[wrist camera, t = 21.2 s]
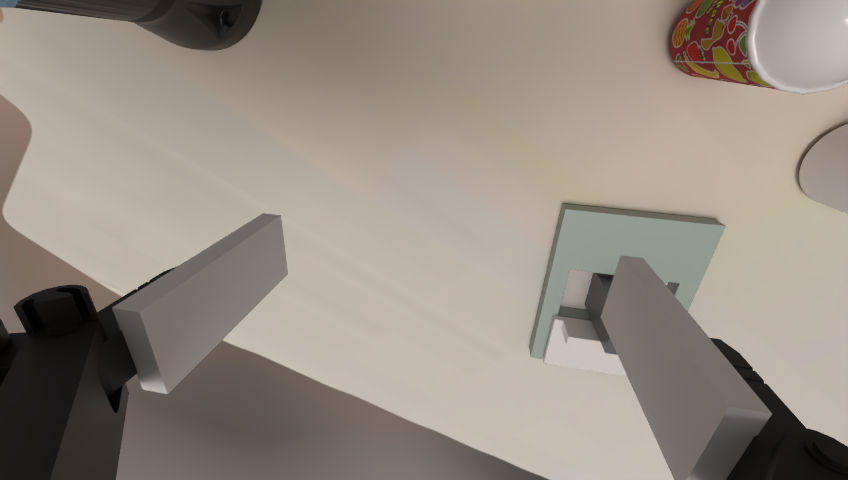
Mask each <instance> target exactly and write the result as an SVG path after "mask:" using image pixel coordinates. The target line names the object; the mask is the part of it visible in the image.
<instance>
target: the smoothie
mask: <svg viewBox="0 0 848 480" xmlns="http://www.w3.org/2000/svg"><path fill="white" fill-rule="evenodd" d="M671 53H672V57H673V60H674V63H675V64H676V65H677V66H678V68H679V69H680V70H681V71H683V72H684V73H686V74H688V75H690V76H694V77H701V78H707V79H714V80H720V81H727V82H733V83H740V84H746V85H753V86H759V87H766V88H772V89H777V90H780V91H786V92H792V93H798V94H809V93H816V92H823V91H829V90H832V89H834V88H837V87H840V86H842V85H845V84H847V83H848V0H696V1H695V2H694V3H693V4H691V5H690V6H689V7H688V8H687V9H686V10H685V11H684V13H683V14H682V16H681V17H680V19H679V20H678V22H677V23H676V26H675V29H674V31H673V34H672V37H671Z"/></svg>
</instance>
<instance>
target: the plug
mask: <svg viewBox="0 0 848 480" xmlns="http://www.w3.org/2000/svg"><path fill="white" fill-rule="evenodd" d="M613 277H614V275H609V274H601V273H593V277H592V280H591V284H590V287H589V291H588V294H587V298H586V301H585V306H586V308H587V310H588V313H589V315H590V318H591V320H592V323H593V325H594V327H595V330H596V332H597V335H598V337H599V340H600V342H601V344H602V347H603V349H604V352H605V353H608V354H615V355H618V354H617V352H616V350H615V348H614V346H613V343H612V341H611V339H610V337H609V335H608V332H607V330H606V328H605V326H604V324H603V321H602V319H601V314H602V311H603V308H604V305H605V302H606V299H607V296H608V293H609V289H610V286H611V283H612V280H613Z"/></svg>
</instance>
